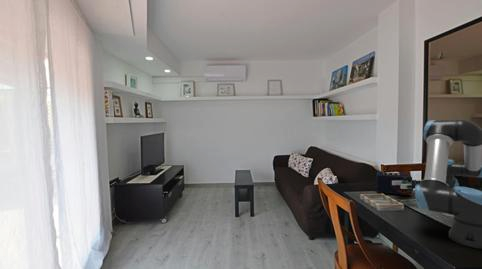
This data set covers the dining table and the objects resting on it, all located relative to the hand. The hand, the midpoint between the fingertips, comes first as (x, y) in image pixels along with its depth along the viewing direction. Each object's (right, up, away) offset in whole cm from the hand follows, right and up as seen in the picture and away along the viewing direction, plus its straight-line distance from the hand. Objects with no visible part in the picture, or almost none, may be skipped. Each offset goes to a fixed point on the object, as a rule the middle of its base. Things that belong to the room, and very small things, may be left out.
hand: (396, 184), depth 162 cm
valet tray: (-10, -13, 0) cm, 16 cm away
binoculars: (+5, -6, 0) cm, 8 cm away
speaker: (+12, -11, +23) cm, 28 cm away
